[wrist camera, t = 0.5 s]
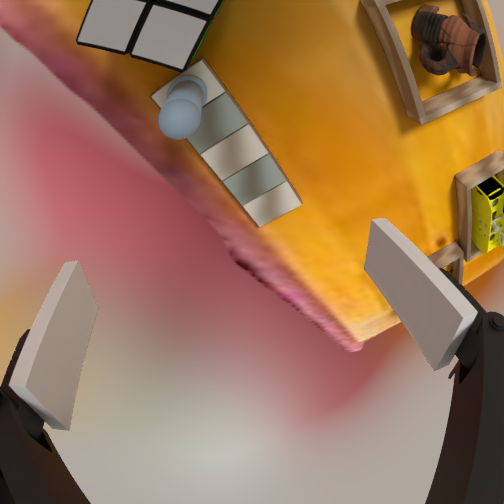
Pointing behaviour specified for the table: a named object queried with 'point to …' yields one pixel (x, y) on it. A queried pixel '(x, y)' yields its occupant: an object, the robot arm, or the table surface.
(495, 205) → the yellow toy chassis
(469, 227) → the camera organizer frame
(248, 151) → the track
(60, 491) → the robot arm
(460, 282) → the figurine organizer frame
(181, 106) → the blue-grey rounded peg
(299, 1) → the table surface
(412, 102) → the frame
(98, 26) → the puzzle cube
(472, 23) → the pottery mug
